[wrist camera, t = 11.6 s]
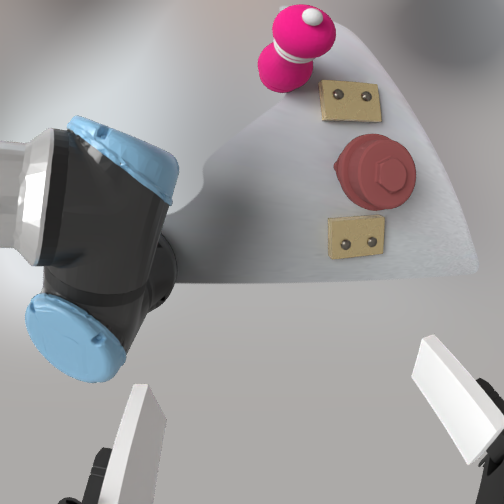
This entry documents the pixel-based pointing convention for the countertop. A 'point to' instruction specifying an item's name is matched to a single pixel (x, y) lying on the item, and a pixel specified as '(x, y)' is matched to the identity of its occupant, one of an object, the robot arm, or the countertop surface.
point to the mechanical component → (376, 172)
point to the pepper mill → (295, 47)
